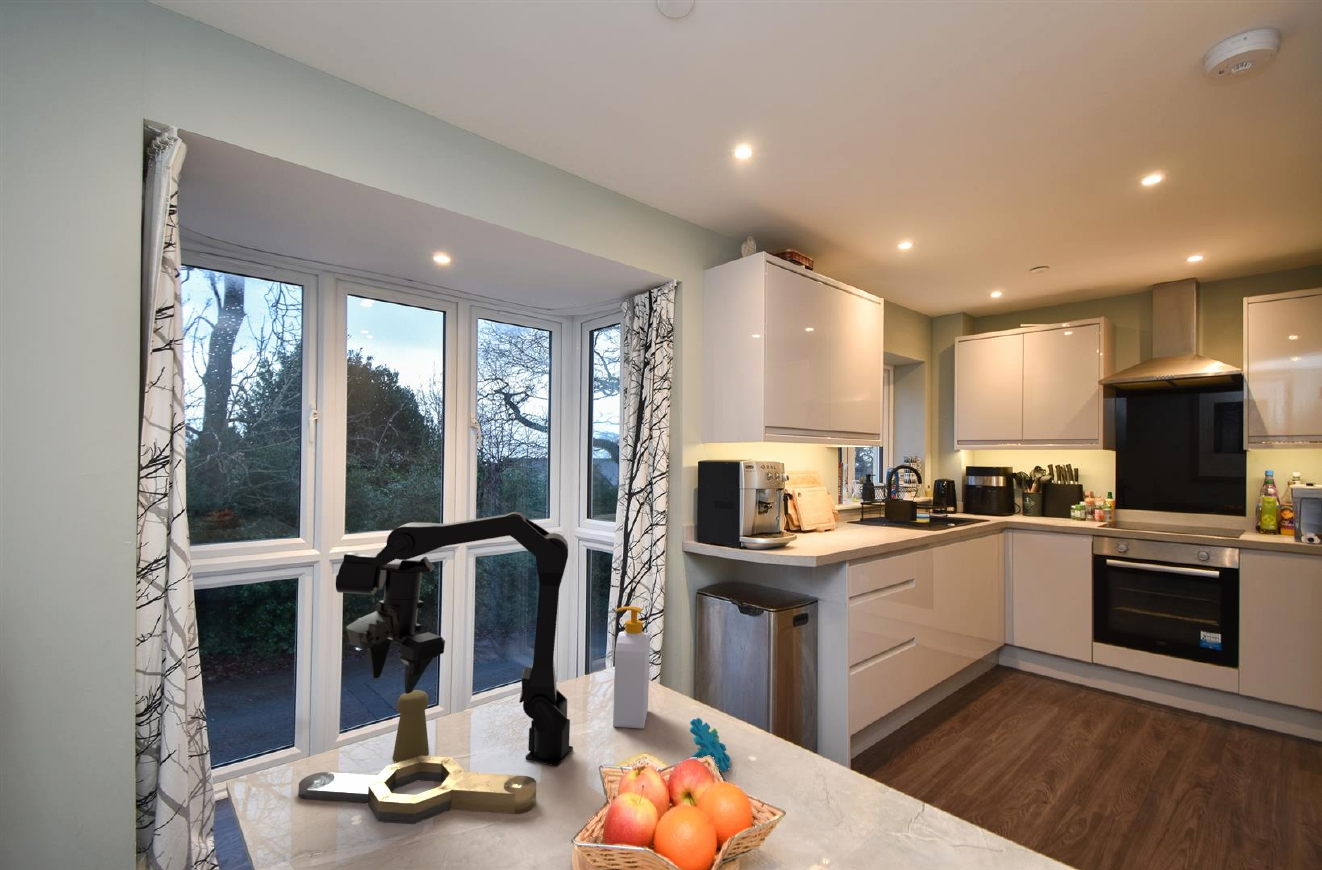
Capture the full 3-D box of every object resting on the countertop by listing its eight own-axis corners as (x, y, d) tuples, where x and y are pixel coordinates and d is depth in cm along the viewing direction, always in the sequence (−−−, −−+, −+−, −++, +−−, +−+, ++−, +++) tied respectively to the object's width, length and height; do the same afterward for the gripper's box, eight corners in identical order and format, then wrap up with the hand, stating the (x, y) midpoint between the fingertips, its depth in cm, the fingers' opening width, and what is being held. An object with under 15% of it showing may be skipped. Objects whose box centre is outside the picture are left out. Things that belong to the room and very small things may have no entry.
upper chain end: (545, 781, 99) (546, 763, 99) (523, 832, 86) (523, 811, 86) (397, 772, 100) (398, 754, 100) (353, 820, 87) (354, 799, 87)
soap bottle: (615, 708, 127) (619, 601, 128) (648, 710, 127) (651, 603, 127) (608, 727, 118) (612, 612, 119) (643, 730, 118) (646, 614, 118)
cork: (436, 751, 107) (438, 690, 108) (409, 767, 102) (412, 702, 102) (412, 743, 110) (414, 683, 110) (384, 758, 104) (387, 695, 105)
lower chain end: (472, 777, 99) (473, 768, 99) (439, 826, 86) (439, 815, 86) (327, 767, 101) (327, 758, 101) (272, 814, 88) (272, 804, 88)
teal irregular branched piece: (728, 776, 99) (689, 724, 102) (702, 798, 100) (665, 746, 103) (738, 753, 110) (703, 707, 113) (715, 773, 110) (680, 727, 113)
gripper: (326, 591, 102) (316, 683, 101) (392, 615, 92) (381, 717, 91) (385, 583, 111) (376, 666, 111) (451, 604, 102) (441, 696, 101)
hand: (391, 685), depth 103 cm, fingers open, 9 cm apart
